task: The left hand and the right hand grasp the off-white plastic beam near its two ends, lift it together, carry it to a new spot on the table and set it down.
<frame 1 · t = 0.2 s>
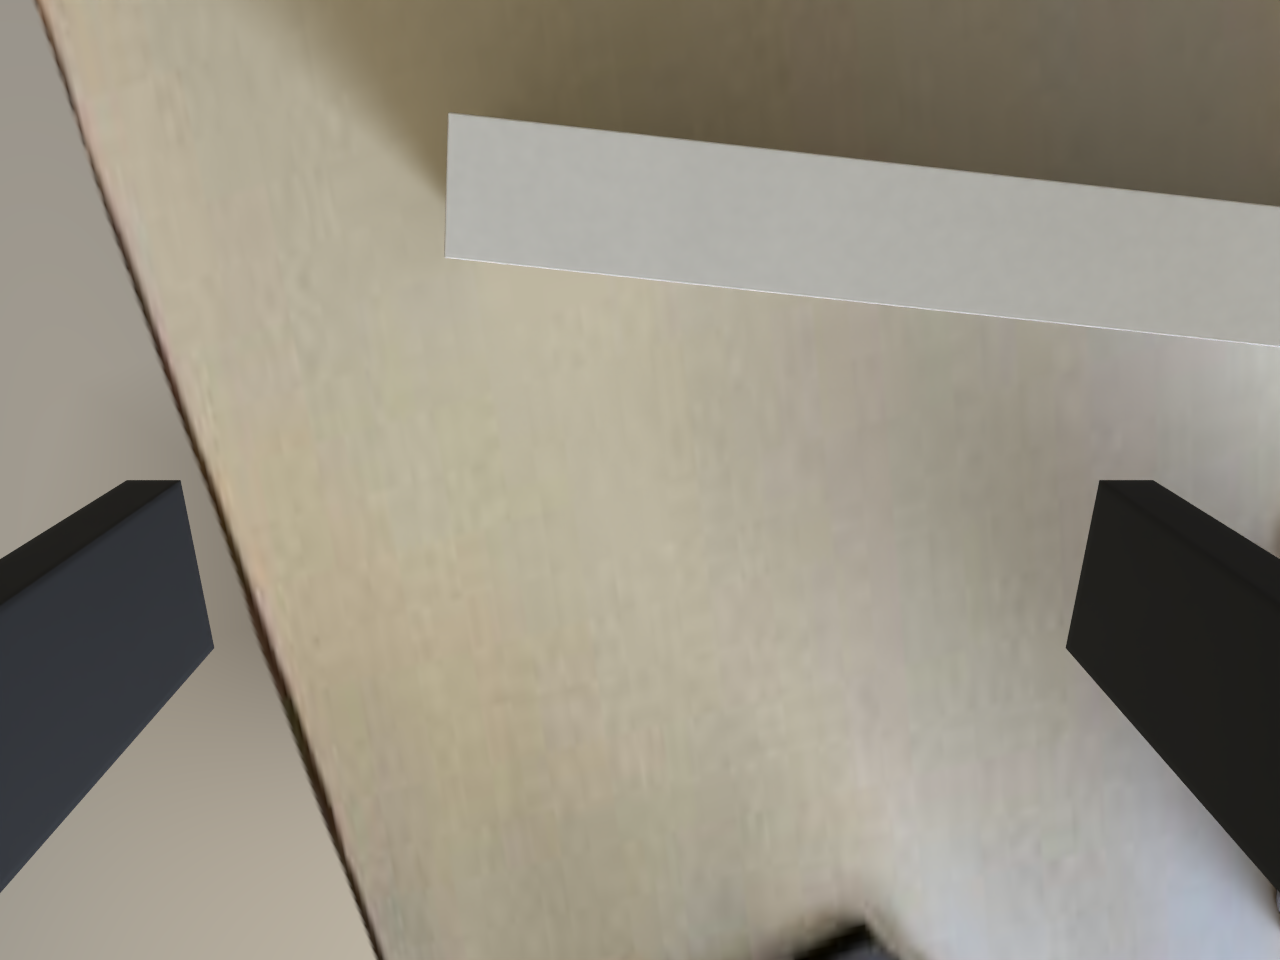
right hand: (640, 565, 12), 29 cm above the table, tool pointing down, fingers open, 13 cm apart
beam: (1097, 251, 39), on the table
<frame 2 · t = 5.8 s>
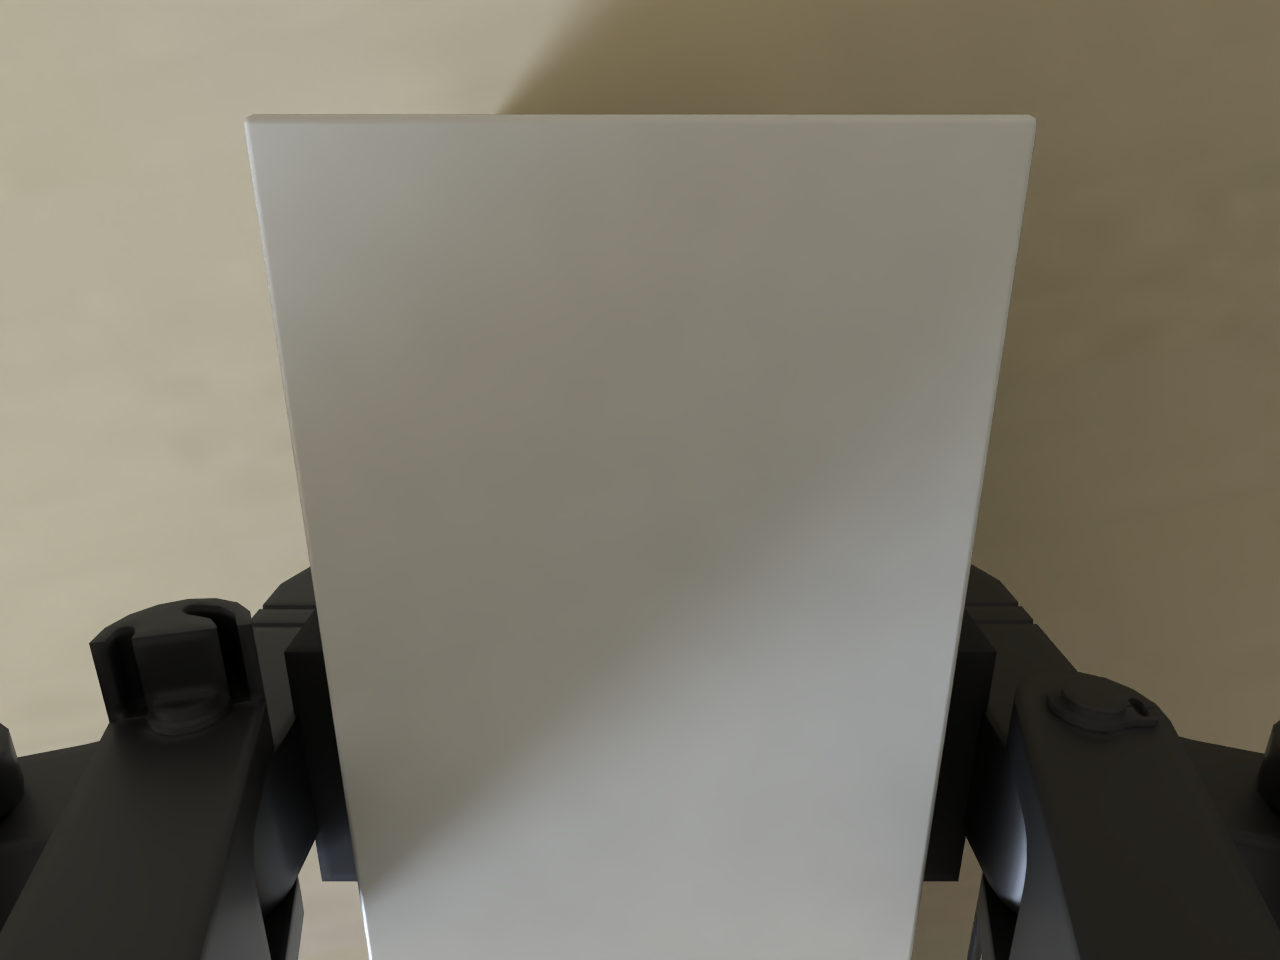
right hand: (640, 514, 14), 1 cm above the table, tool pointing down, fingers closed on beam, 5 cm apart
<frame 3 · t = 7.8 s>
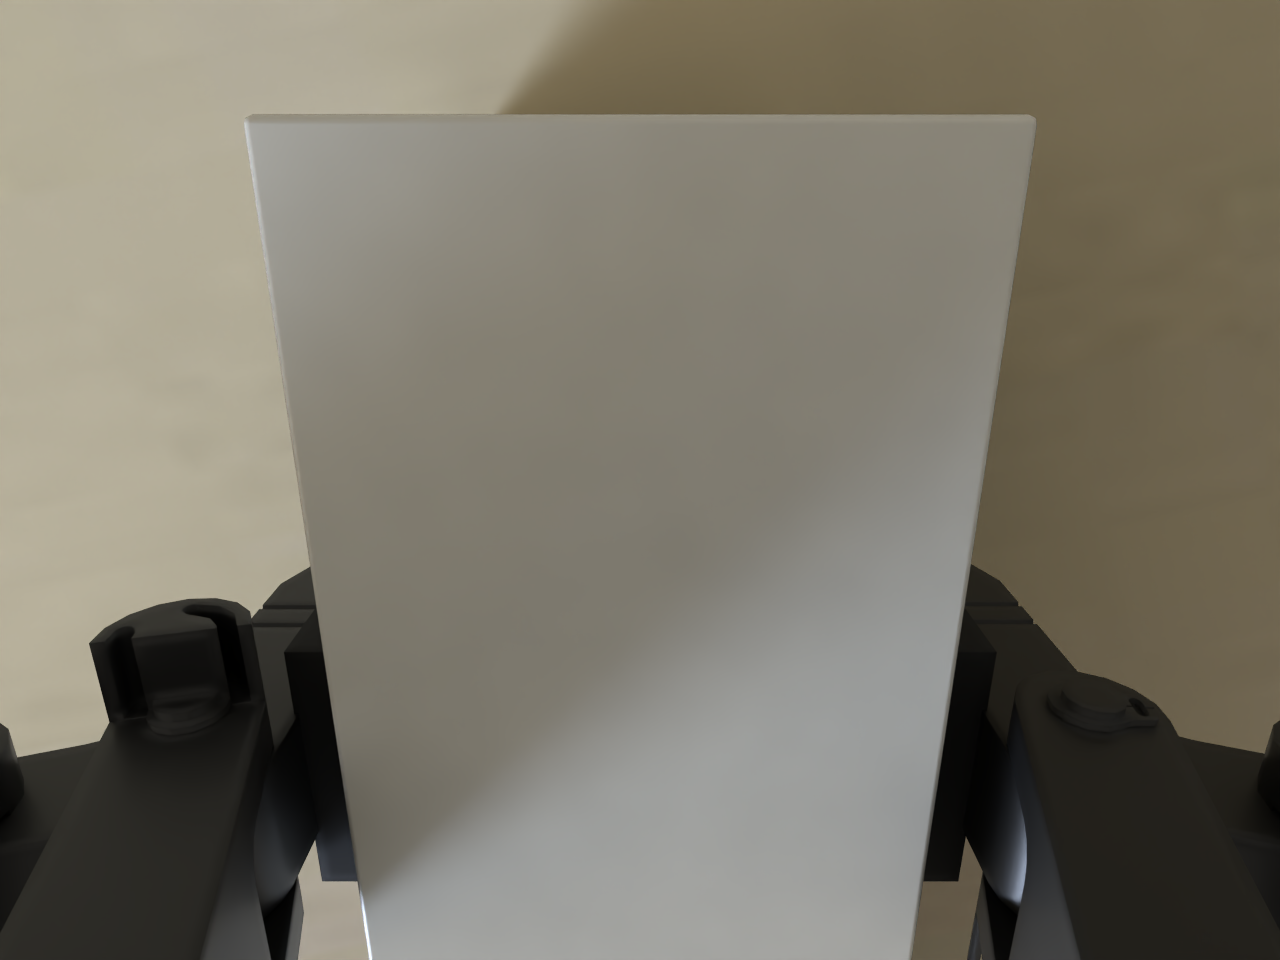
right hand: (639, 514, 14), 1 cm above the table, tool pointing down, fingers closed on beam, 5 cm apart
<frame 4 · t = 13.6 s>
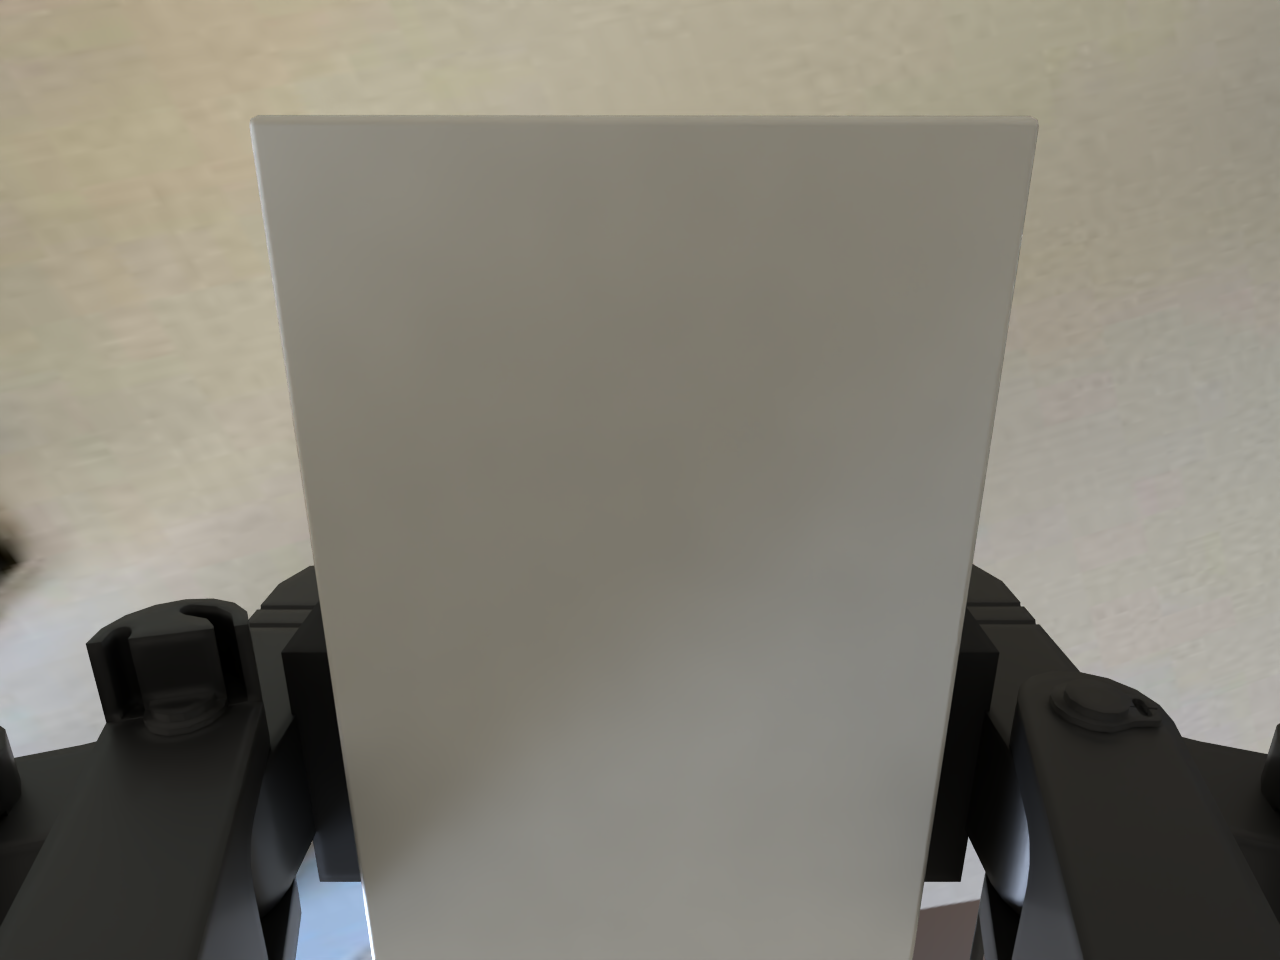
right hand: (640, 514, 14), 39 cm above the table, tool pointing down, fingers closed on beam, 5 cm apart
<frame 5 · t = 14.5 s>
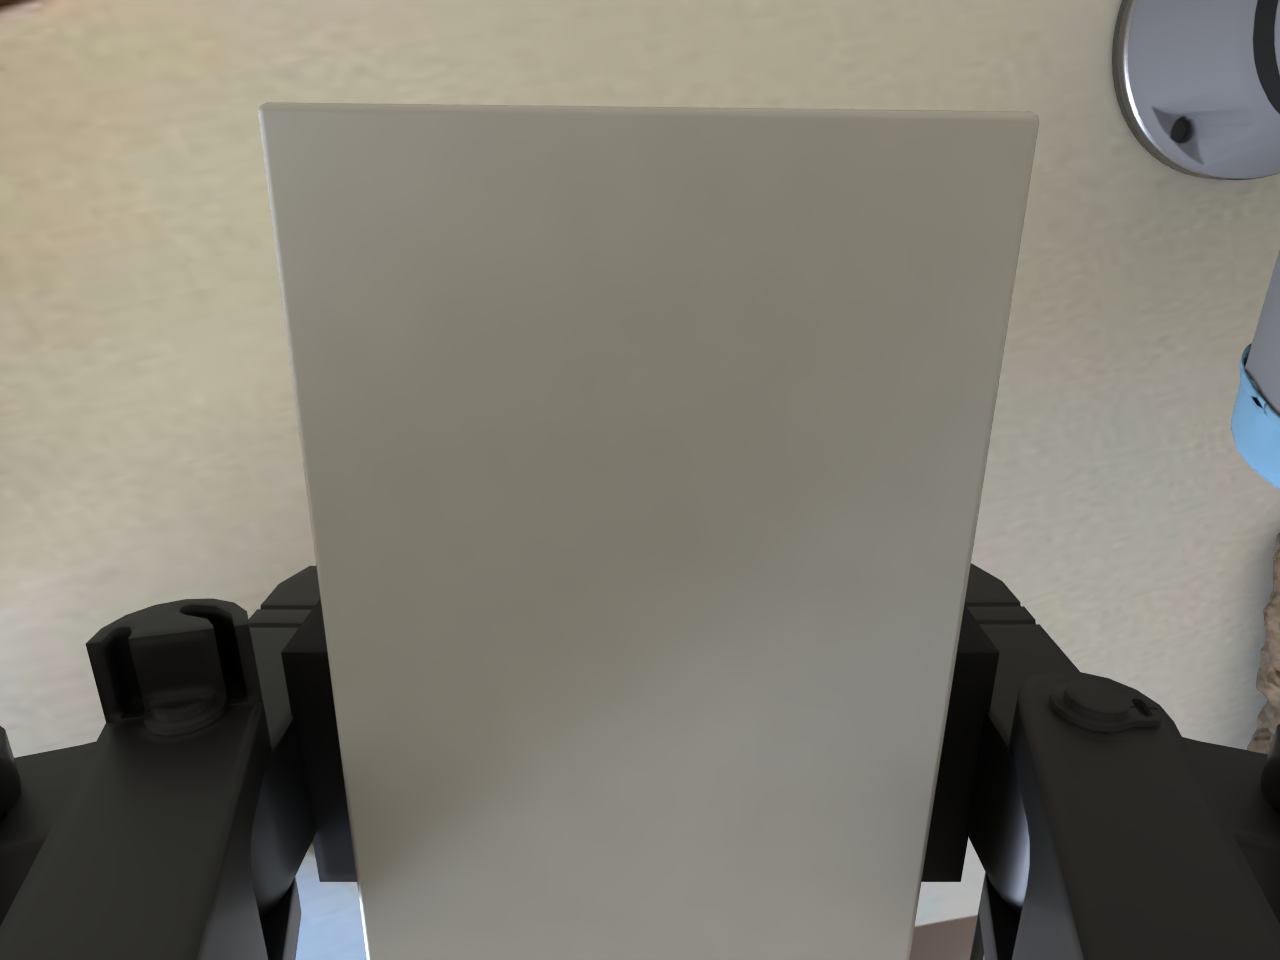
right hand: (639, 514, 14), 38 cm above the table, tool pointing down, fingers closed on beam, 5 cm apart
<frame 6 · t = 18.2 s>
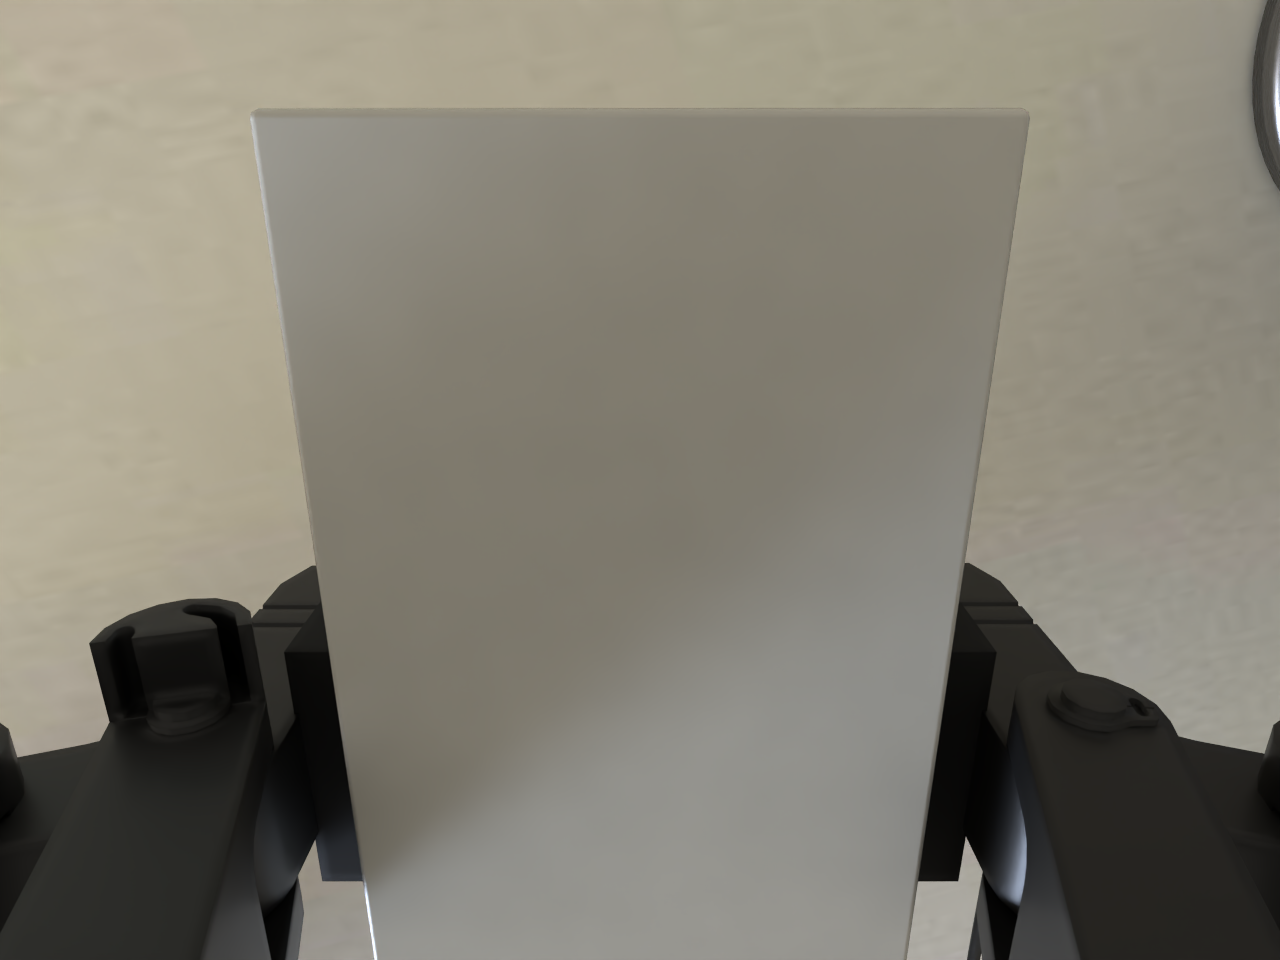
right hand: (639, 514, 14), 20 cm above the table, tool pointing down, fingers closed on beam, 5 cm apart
when the right hand's fingers open (2 cm above the table, at t = 21.4 s): beam moves 1 cm, on the table.
when the left hand's fingers open (4 cm above the table, at t = 21.6 s): beam stays where it is, on the table.
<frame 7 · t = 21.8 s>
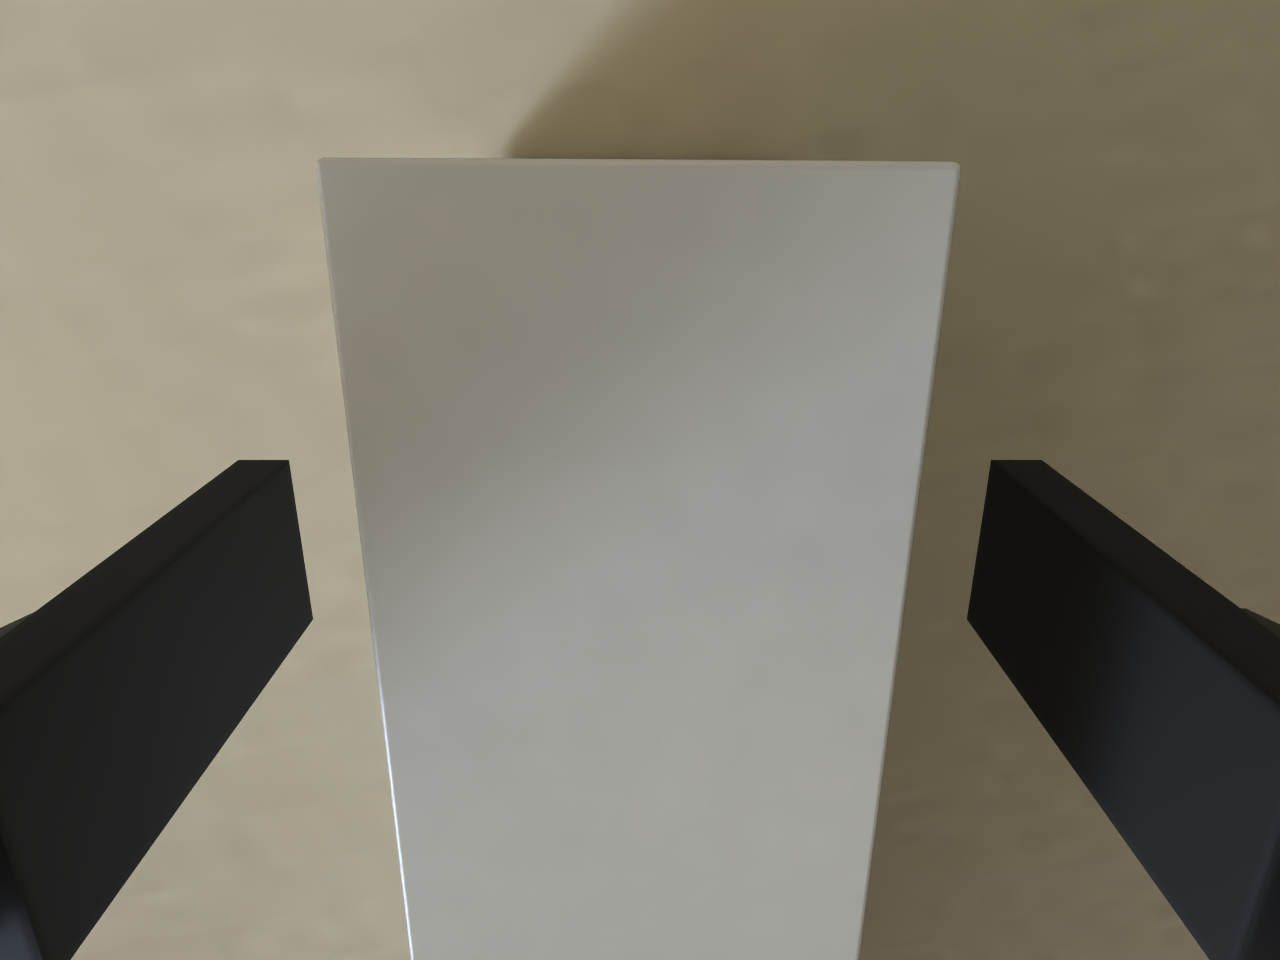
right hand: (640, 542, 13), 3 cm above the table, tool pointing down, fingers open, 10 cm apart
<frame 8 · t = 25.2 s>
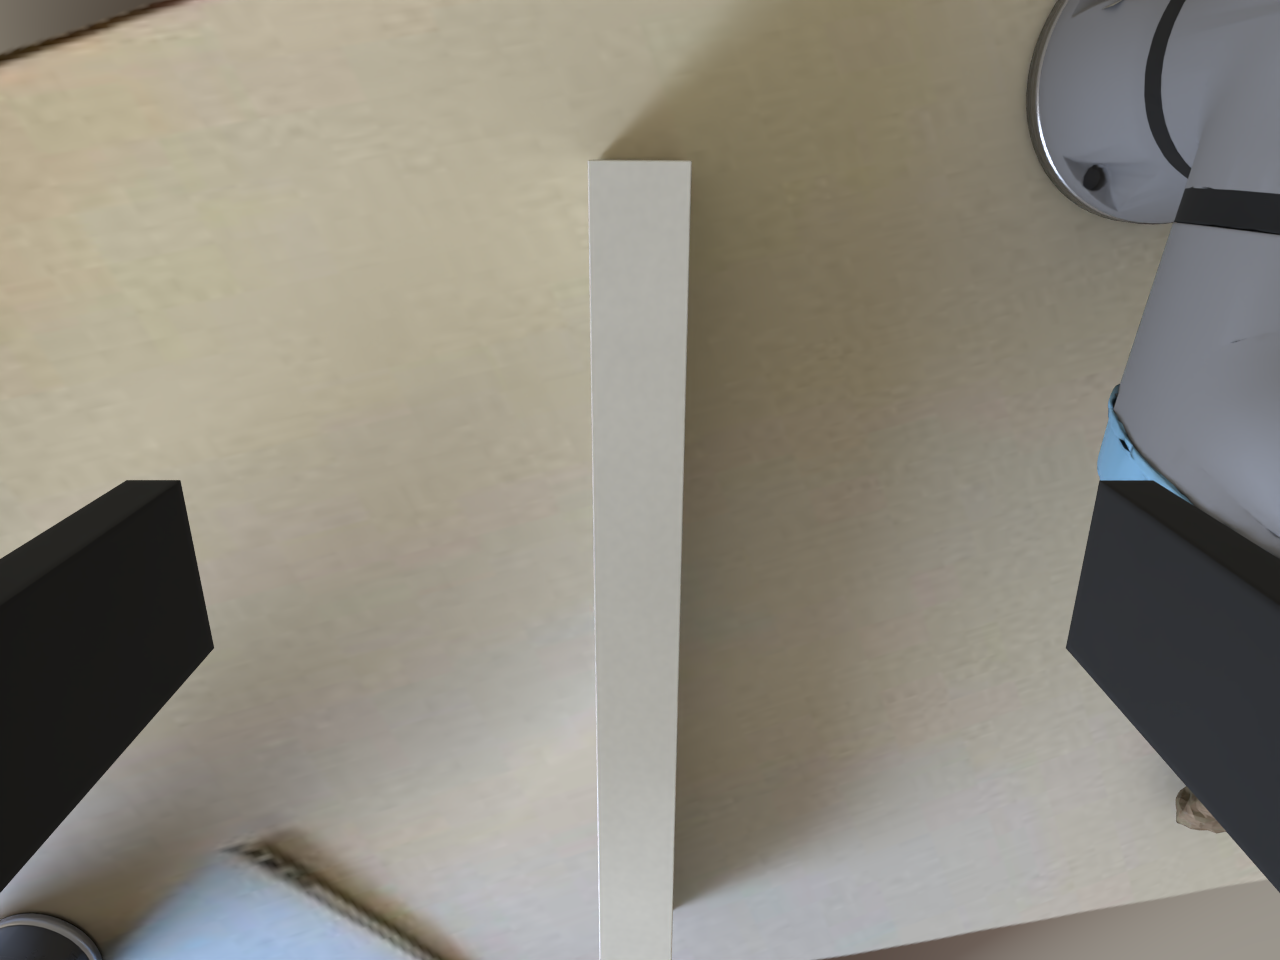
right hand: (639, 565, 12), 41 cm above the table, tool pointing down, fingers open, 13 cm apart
stone: (1274, 676, 61), on the table
beam: (637, 600, 58), on the table
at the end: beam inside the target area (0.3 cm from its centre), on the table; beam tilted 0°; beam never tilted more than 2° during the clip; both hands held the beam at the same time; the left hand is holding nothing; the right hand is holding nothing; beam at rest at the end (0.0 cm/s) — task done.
